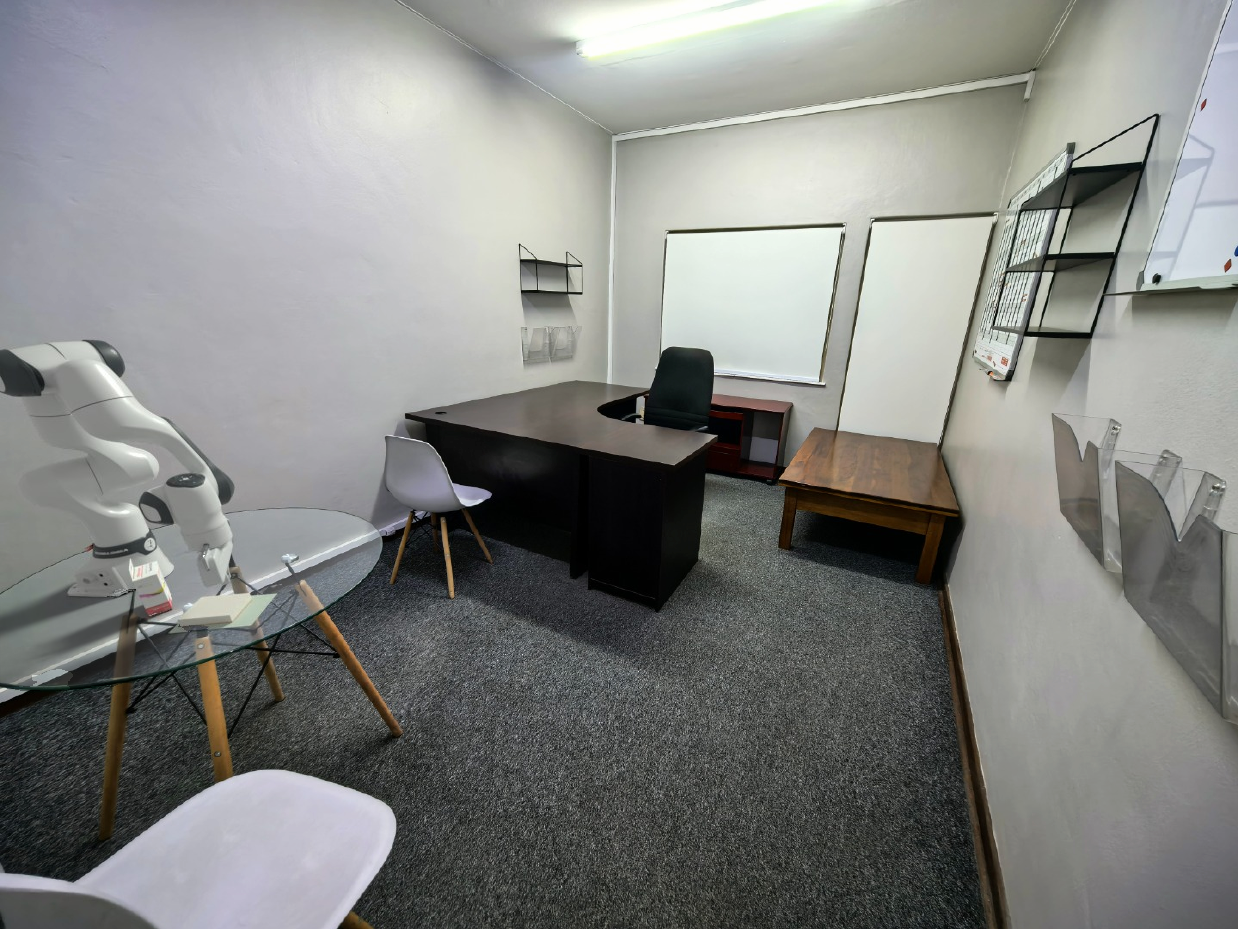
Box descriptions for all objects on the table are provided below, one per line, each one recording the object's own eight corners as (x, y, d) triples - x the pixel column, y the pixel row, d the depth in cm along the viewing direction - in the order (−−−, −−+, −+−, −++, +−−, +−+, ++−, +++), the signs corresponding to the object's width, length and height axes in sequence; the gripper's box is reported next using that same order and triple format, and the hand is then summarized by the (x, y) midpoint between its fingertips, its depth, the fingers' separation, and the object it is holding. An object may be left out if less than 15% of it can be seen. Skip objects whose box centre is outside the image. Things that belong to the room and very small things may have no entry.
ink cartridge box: (174, 609, 124) (153, 564, 118) (148, 618, 121) (126, 572, 115) (172, 594, 129) (152, 551, 124) (148, 602, 126) (127, 558, 121)
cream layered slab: (232, 622, 119) (180, 627, 117) (252, 599, 127) (204, 604, 125) (229, 615, 118) (177, 619, 116) (249, 593, 126) (201, 597, 124)
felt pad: (168, 634, 115) (168, 633, 115) (203, 601, 127) (202, 599, 127) (251, 626, 118) (250, 625, 118) (277, 594, 130) (277, 593, 130)
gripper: (218, 551, 107) (237, 599, 112) (229, 516, 123) (245, 559, 128) (183, 560, 104) (204, 608, 109) (198, 522, 120) (216, 566, 125)
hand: (226, 581), depth 119 cm, fingers closed
